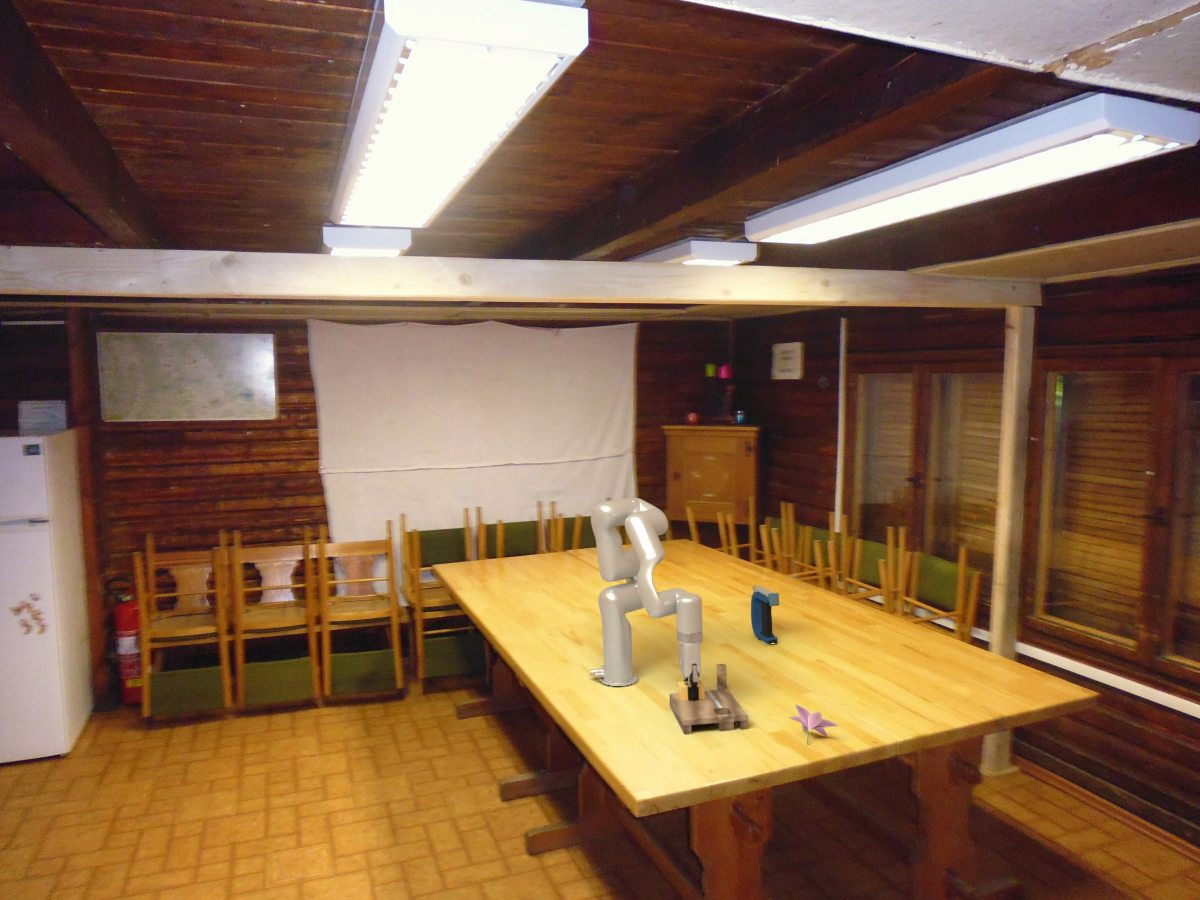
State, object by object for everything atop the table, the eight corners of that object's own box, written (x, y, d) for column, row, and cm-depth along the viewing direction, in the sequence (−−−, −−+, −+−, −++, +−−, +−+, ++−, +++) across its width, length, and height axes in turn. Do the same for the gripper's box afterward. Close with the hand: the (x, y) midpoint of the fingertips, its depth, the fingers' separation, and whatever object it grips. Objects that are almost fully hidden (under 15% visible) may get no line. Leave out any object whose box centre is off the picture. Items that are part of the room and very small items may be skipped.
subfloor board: (684, 734, 225) (684, 720, 224) (669, 706, 244) (669, 693, 244) (747, 728, 227) (747, 714, 226) (728, 701, 247) (727, 688, 246)
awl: (718, 695, 252) (717, 667, 251) (716, 692, 255) (715, 664, 254) (728, 694, 252) (727, 666, 251) (725, 691, 255) (724, 663, 254)
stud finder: (681, 700, 238) (681, 687, 238) (678, 695, 243) (677, 681, 242) (704, 698, 239) (704, 685, 239) (701, 693, 243) (700, 680, 243)
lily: (842, 750, 214) (844, 712, 218) (810, 742, 209) (812, 704, 213) (809, 748, 224) (811, 712, 228) (777, 741, 219) (780, 704, 223)
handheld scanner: (769, 647, 296) (769, 594, 295) (750, 634, 311) (750, 584, 310) (781, 646, 297) (781, 593, 296) (761, 633, 313) (760, 583, 311)
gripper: (671, 628, 247) (673, 687, 249) (683, 645, 231) (685, 708, 232) (695, 627, 248) (697, 685, 250) (709, 644, 232) (710, 706, 233)
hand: (691, 695), depth 241 cm, fingers closed on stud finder, 4 cm apart
